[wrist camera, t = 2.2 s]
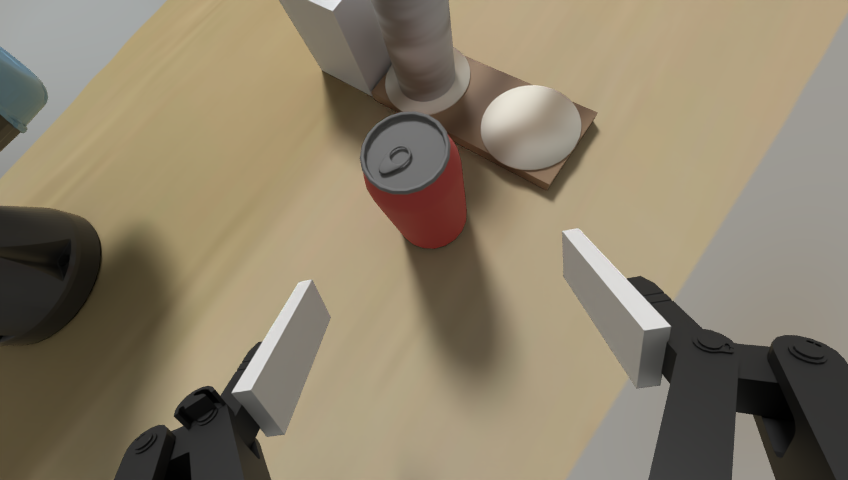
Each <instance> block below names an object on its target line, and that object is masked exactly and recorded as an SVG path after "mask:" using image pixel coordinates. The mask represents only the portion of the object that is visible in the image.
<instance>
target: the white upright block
mask: <svg viewBox="0 0 848 480" xmlns="http://www.w3.org/2000/svg"><path fill="white" fill-rule="evenodd" d="M279 1H280V3H281V4H282V6H283V8H284V9H285V11H286V13H287V14H288V16H289V18H290V19H291V21H292V22H293V24H294V26H295V27H296V29H297V31H298V32H299V34H300V35H301V37H302V39H303V40H304V42H305V44H306V45H307V47H308V48H309V50H310V52H311V53H312V55H313V57H314V58H315V60H316V62H317V63H318V65H319V66H320V68H321V70H322V71H324V72H326V73H328V74H330V75H332V76H334V77H336V78H338V79H340V80H342V81H343V82H345V83H347V84H349V85H351V86H353V87H355V88H357V89H359V90H361V91H363V92H364V93H366V94H368V95H370V96H373V95H372V93H371V92H372V90H373V89H374V88H375V87H376V85H377V84H378V83H379V81H380V80H381V79H382V78H383V76H384V75H385V74H386V73H387V71H388V70H389V68H390V66H391V65H392V63H391V60H390V57H389V54H388V51H387V48H386V45H385V42H384V39H383V36H382V33H381V30H380V27H379V24H378V21H377V18H376V15H375V12H374V9H373V6H372V3H371V0H279Z"/></svg>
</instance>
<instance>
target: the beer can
mask: <svg viewBox="0 0 848 480" xmlns="http://www.w3.org/2000/svg"><path fill="white" fill-rule="evenodd" d="M360 161H361V166H362V171H363V174H364V179H365V184H366V187H367V190H368V191H369V193H370V195H371V196H372V198H373V200H374V201H375V202H376V204H377V205H378V206H379V207H380V208H381V210H382V211H383V212H384V213H385V214H386V215H387V217H388V218H389V219H390V220H391V221H392V223H393V224H394V225H395V226H396V227H397V229H398V230H399V231H400V232H401V233H402V235H403V236H404V237H405V238H406V239H407V240H408V241H410V242H411V243H412V244H414V245H416V246H419V247H422V248H433V249H435V248H438V247H442V246H445V245H447V244H449V243H450V242H452V241H453V240H455V239H456V238H457V236H458V235H459V234H460V233H461V232H462V230H463V227H464V225H465V222H466V213H467V209H466V200H465V191H464V182H463V173H462V164H461V159H460V155H459V152H458V149H457V147H456V145H455V143H454V142H453V140H452V139H451V138H450V137H449V135H448V134H447V131H446V130H445V128H444V127H443V126H442V125H441V123H440V122H439V121H438V120H436V119H434V118H433V117H431V116H430V115H428V114H424V113H420V112H416V111H411V112H400V113H397V114H394V115H390V116H388V117H386V118H385V119H383V120H382V121H380V122H379V123H377V124H376V125H375V126H374V127H373V128H372V129H371V131H370V132H369V133H368V134H367V136H366V138H365V140H364V142H363V144H362V148H361V154H360Z"/></svg>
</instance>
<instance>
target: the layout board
mask: <svg viewBox="0 0 848 480" xmlns="http://www.w3.org/2000/svg"><path fill="white" fill-rule="evenodd" d="M371 3H372V6H373V9H374V12H375V15H376V18H377V21H378V24H379V27H380V30H381V33H382V36H383V39H384V42H385V45H386V48H387V51H388V54H389V57H390V60H391V63H392V65H391V66H390V68H389V70H388V71H387V73H386V74H385V75H384V76H383V78H382V79H381V80H380V81H379V83H378V84H377V85H376V87H375V88H374V89H373V90H372V92H371V93H372V95H373V97H374V99H375V100H376V101H378V102H380V103H382V104H384V105H386V106H387V107H389V108H391V109H393V110H395V111H397V112H399V113H400V112H411V111H416V112H420V113H424V114H428V115H430V116H431V117H433V118H434V119H436V120H438V121H439V122H440V123H441V125H442V126H443V127H444V128H445V130H446V131H447V134H448V135H449V137H450V138H451V139H452V140H453V141H454V142H456V143H458V144H460V145H462V146H463V147H465V148H467V149H469V150H471V151H473V152H475V153H477V154H479V155H481V156H482V157H484V158H486V159H488V160H490V161H492V162H494V163H496V164H498V165H500V166H501V167H503V168H505V169H507V170H509V171H511V172H513V173H515V174H517V175H519V176H520V177H522V178H524V179H526V180H528V181H530V182H532V183H534V184H536V185H538V186H539V187H541V188H543V189H545V190H547V189H548V188H549V186H550V185H551V183H552V182H553V180H554V179H555V177H556V176H557V174H558V173H559V171H560V170H561V168H562V167H563V165H564V164H565V162H566V161H567V159H568V158H569V156H570V155H571V153H572V152H573V150H574V149H575V147H576V146H577V144H578V143H579V141H580V140H581V138H582V137H583V135H584V134H585V132H586V131H587V129H588V128H589V126H590V125H591V123H592V122H593V120H594V119H595V117H596V115H597V112H595V111H593V110H590V109H588V108H586V107H583V106H581V105H579V104H576V103H574V102H572V101H571V100H570V99H569V98H567V97H566V96H565V95H564V94H562V93H561V92H559V91H557V90H554V89H552V88H549V87H544V86H537V85H532V84H529V83H527V82H525V81H522V80H520V79H518V78H515V77H513V76H511V75H508V74H506V73H503V72H501V71H499V70H496V69H494V68H492V67H489V66H487V65H485V64H482V63H480V62H478V61H475V60H473V59H471V58H468V57H466V56H464V55H463V54H462V53H461V52H460V51H459V50H457V49H456V48H454V47H453V42H452V32H451V21H450V11H449V0H371Z"/></svg>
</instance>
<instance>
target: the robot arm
mask: <svg viewBox="0 0 848 480" xmlns="http://www.w3.org/2000/svg"><path fill="white" fill-rule="evenodd" d="M47 99H48V95H47V90H46V88H45V86H44V85H43V83H42V82H41V81H40V79H38V77H37V76H36V75H35V74H34V73H33V72H31V71H30V70H29V69H28V68H27V67H26V66H24V65H23V64H22V63H21V62H20V61H18V60H17V59H16V58H15V57H13V56H12V55H11V54H10V53H8V52H7V51H6V50H4V49H3V48H2V47H0V152H1V151H2V150H3V149H4V148H5V147H6V146H7V145H8V144H9V143H10V142H11V141H12V140H13V139H14V138H15V137H16V136H17V135H18V134H19V133H20V132H21V133H25V132H26V130H27V127H26V126H27V124H28V123H29V122H30V121H31V120H32V119H33V118H34V117H35V116H36V115H37V113H38V112H39V111H40V110H41V109H42V108H43V107H44V106H45V104H46V102H47ZM562 243H563V277H564V278H565V280H566V281H567V283H568V284H569V286H570V287H571V289H572V290H573V292H574V293H575V295H576V297H577V298H578V300H579V301H580V303H581V304H582V306H583V307H584V309H585V310H586V312H587V313H588V315H589V316H590V318H591V320H592V321H593V323H594V324H595V326H596V327H597V329H598V330H599V332H600V333H601V335H602V336H603V338H604V340H605V341H606V343H607V344H608V346H609V347H610V349H611V350H612V352H613V353H614V355H615V356H616V358H617V359H618V361H619V363H620V364H621V366H622V367H623V369H624V370H625V372H626V373H627V375H628V376H629V378H630V379H631V381H632V383H633V384H634V386H635V387H636V388H644V387H652V386H660V384H661V378H662V374H663V375H664V377H665V378H666V379H667V381H668V382H669V383H670V388H669V392H668V396H667V401H666V405H665V409H664V414H663V418H662V422H661V427H660V431H659V436H658V440H657V444H656V449H655V453H654V457H653V462H652V466H651V471H650V475H649V479H648V480H732V466H733V450H734V432H735V416H736V412H739V413H746V414H753V416H754V419H755V422H756V425H757V427H758V431H759V433H760V436H761V439H762V442H763V445H764V448H765V450H766V453H767V456H768V459H769V462H770V465H771V468H772V470H773V473H774V476H775V479H776V480H848V364H847V362H846V361H845V359H844V358H843V357H842V356H841V355H840V354H839V353H838V352H837V351H835V350H834V349H832V348H830V347H829V346H827V345H825V344H823V343H821V342H818V341H815V340H813V339H810V338H806V337H801V336H795V335H784V336H780V337H777V338H776V339H775V340H774V341H773V342H772V344H771V346H770V347H766V346H755V345H744V344H737V343H733V341H732V340H730V339H729V338H727V337H726V336H724V335H722V334H720V333H717V332H714V331H711V330H706V329H702V328H701V327H700V326H699V325H698V324H697V323H696V322H695V321H694V320H693V319H692V318H691V317H689V316H688V315H687V314H686V313H685V312H684V311H683V310H682V309H681V308H680V307H679V306H678V305H677V304H676V303H675V302H674V301H672V300H671V298H670V297H668V296H667V295H666V294H664V292H663V291H662V290H661V289H660V288H659V287H658V286H657V285H656V284H655V283H653V282H651V281H649V280H647V279H645V278H643V277H641V276H638V277H633V278H627V279H626V278H625V277H624V276H623V275H622V274H621V273H620V272H619V271H618V270H617V268H616V267H615V266H614V265H613V264H612V263H611V262H610V261H609V260H608V259H607V258H606V257H605V256H604V255H603V254H602V253H601V252H600V250H599V249H598V248H597V247H596V246H595V245H594V244H593V243H592V242H591V241H590V240H589V239H588V238H587V237H586V236H585V235H584V234H583V232H582V231H581V230H580V229H579V228H576V229H571V230H566V231H562ZM99 262H100V244H99V239H98V236H97V233H96V231H95V229H94V228H93V226H92V225H91V224H90V223H89V222H88V221H87V220H86V219H84V218H82V217H80V216H78V215H74V214H71V213H67V212H64V211H60V210H56V209H51V208H38V207H18V206H0V346H8V345H28V344H33V343H36V342H39V341H41V340H44V339H46V338H48V337H49V336H51V335H53V334H54V333H56V332H57V331H58V330H60V329H61V328H62V327H63V326H64V325H66V324H67V323H68V322H69V321H70V320H71V319H72V318H73V316H74V315H75V314H76V313H77V312H78V310H79V309H80V308H81V306H82V305H83V303H84V302H85V300H86V298H87V297H88V295H89V293H90V291H91V289H92V287H93V284H94V282H95V279H96V276H97V272H98V268H99ZM330 318H331V317H330V315H329V313H328V310H327V308H326V306H325V304H324V302H323V300H322V298H321V296H320V294H319V292H318V290H317V288H316V286H315V284H314V282H313V280H306V281H301V282H299V283H298V284H297V286H296V288H295V289H294V291H293V293H292V294H291V296H290V298H289V299H288V301H287V302H286V304H285V306H284V307H283V309H282V311H281V312H280V314H279V316H278V317H277V319H276V320H275V322H274V324H273V325H272V327H271V329H270V330H269V332H268V334H267V335H266V337H265V339H264V340H263V341H262V342H258V343H257V344H256V345H255V346H254V347H253V348H252V349H251V350H250V351H249V352H248V353H247V355H246V357H245V358H244V360H243V361H242V364H240V366H239V368H238V369H237V372H235V374H234V375H233V377H232V378H231V380H230V382H229V383H228V385H227V386H226V388H225V389H224V391H223V393H222V394H221V396H220V395H219V394H218V393H217V392H216V390H215V389H214V388H213V387H211V386H205V387H201V388H199V389H197V390H195V391H193V392H192V393H191V394H189V395H188V396H187V397H186V398H185V399H184V400H183V401H182V402H181V403H180V404H179V405H178V407H177V408H176V410H175V413H174V417H175V418H176V419H177V420H178V421H179V422H180V423H181V424H182V425H183V427H180V428H178V429H176V430H173V431H170V430H169V429H168V428H167V427H166V426H165V425H158V426H155V427H152V428H150V429H149V430H147V431H145V432H144V433H142V434H141V435H140V436H139V437H138V438H136V439H135V441H134V442H133V443H132V444H131V445H130V446H129V448H128V449H127V451H126V453H125V454H124V457H123V459H122V462H121V464H120V466H119V469H118V471H117V474H116V476H115V479H114V480H271V478H270V475H269V472H268V469H267V465H266V462H265V459H264V456H263V453H262V449H261V446H260V443H259V442H258V440H257V439H256V435H257V433H258V431H259V429H261V430H262V431H263V433H264V434H265V435H266V436H267V437H269V436H277V435H285V433H286V430H287V427H288V425H289V422H290V420H291V417H292V415H293V412H294V410H295V407H296V405H297V402H298V400H299V397H300V394H301V392H302V389H303V387H304V384H305V382H306V379H307V377H308V374H309V372H310V369H311V367H312V364H313V361H314V359H315V356H316V354H317V351H318V349H319V346H320V344H321V341H322V339H323V336H324V334H325V331H326V328H327V326H328V323H329V321H330Z"/></svg>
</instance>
